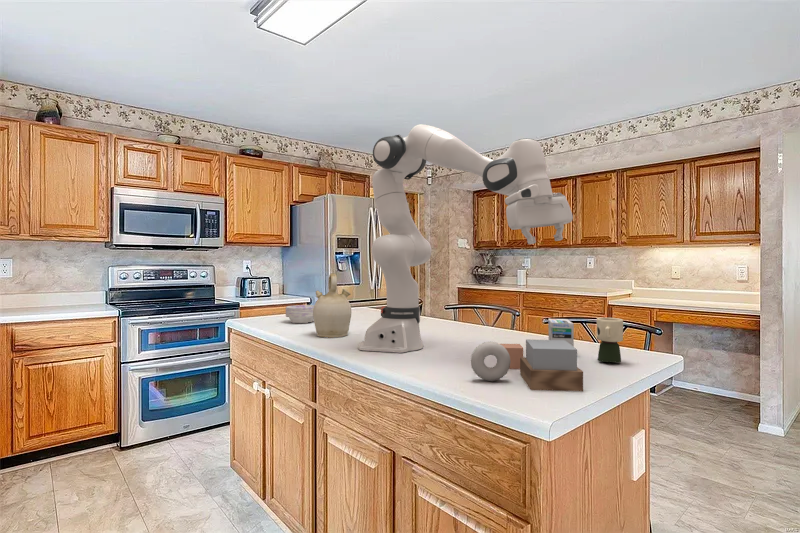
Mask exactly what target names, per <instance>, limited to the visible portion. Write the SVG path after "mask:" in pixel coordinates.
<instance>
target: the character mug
mask: <svg viewBox="0 0 800 533" xmlns="http://www.w3.org/2000/svg"><path fill="white" fill-rule="evenodd" d="M623 339H624V319H622V318H618V317H617V318H616V317H597V318H596V340H599V341H601V342H600V344H599V348H598V353H597V354H598V355H597V356H598V357H597V361H599V362H603V363H605V362H606V363H607V364H610V363H621V362H622V357H621V349H620V348H621V347H620V344H619V342H623Z"/></svg>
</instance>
